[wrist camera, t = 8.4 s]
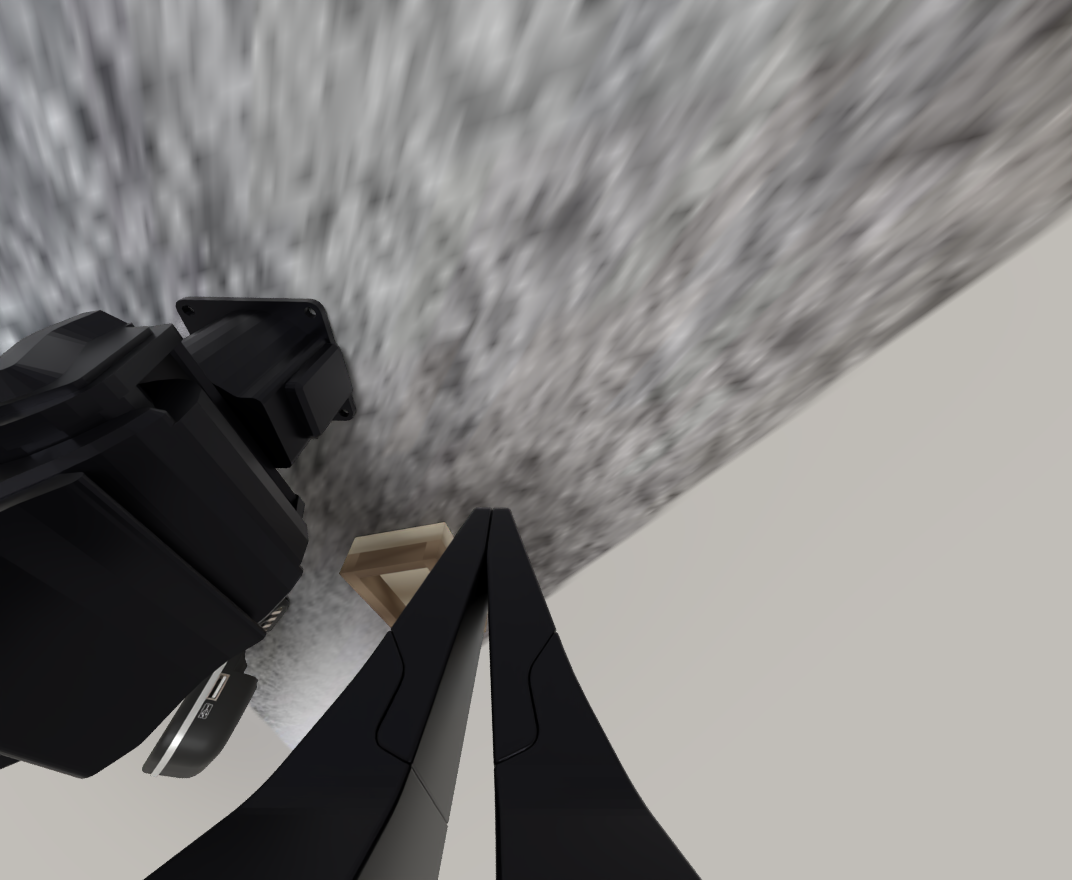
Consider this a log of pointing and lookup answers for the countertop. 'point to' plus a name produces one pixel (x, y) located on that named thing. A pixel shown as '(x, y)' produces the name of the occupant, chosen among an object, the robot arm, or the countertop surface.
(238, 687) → the battery charger
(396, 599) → the tray
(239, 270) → the countertop surface
